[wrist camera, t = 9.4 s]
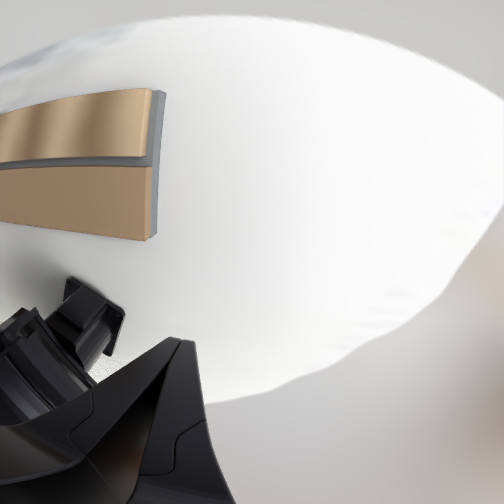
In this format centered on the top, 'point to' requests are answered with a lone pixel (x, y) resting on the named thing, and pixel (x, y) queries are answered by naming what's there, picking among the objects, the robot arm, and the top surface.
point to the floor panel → (88, 189)
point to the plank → (78, 127)
